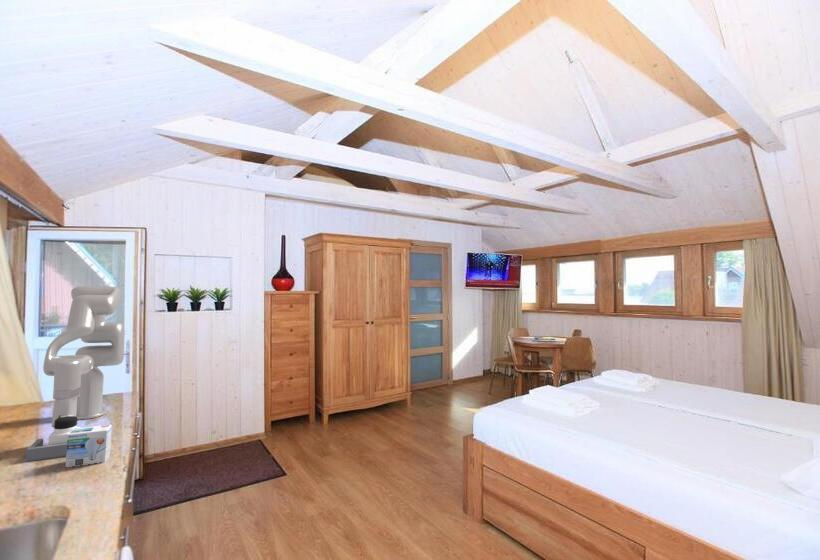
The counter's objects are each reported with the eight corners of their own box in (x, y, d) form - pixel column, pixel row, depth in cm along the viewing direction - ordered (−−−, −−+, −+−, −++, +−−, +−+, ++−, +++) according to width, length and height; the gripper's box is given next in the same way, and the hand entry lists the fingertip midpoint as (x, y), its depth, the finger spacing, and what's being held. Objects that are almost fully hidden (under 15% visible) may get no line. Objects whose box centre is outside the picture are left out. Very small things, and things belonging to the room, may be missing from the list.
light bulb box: (64, 468, 123) (66, 434, 123) (71, 460, 129) (73, 428, 129) (106, 462, 128) (107, 430, 128) (110, 454, 134) (112, 423, 134)
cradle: (37, 450, 136) (37, 439, 136) (87, 444, 142) (88, 433, 142) (25, 461, 127) (26, 449, 127) (80, 454, 134) (80, 442, 134)
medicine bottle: (74, 453, 134) (76, 418, 135) (47, 456, 131) (49, 421, 131) (80, 445, 141) (81, 413, 141) (54, 449, 137) (56, 415, 138)
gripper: (60, 388, 146) (58, 436, 146) (45, 399, 133) (43, 452, 133) (85, 386, 150) (83, 433, 150) (73, 397, 137) (71, 448, 136)
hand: (64, 442), depth 141 cm, fingers closed
